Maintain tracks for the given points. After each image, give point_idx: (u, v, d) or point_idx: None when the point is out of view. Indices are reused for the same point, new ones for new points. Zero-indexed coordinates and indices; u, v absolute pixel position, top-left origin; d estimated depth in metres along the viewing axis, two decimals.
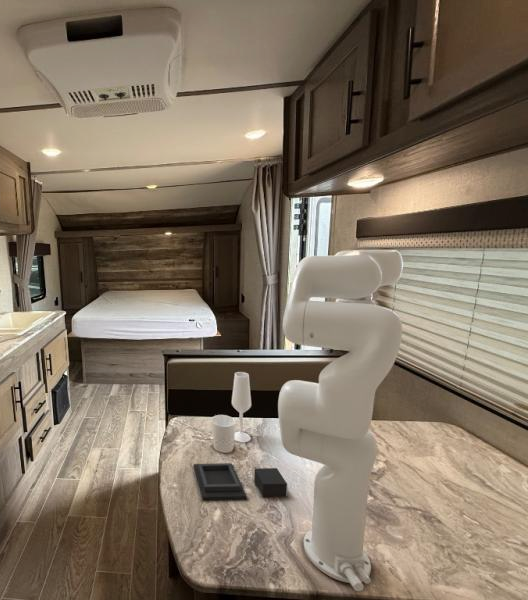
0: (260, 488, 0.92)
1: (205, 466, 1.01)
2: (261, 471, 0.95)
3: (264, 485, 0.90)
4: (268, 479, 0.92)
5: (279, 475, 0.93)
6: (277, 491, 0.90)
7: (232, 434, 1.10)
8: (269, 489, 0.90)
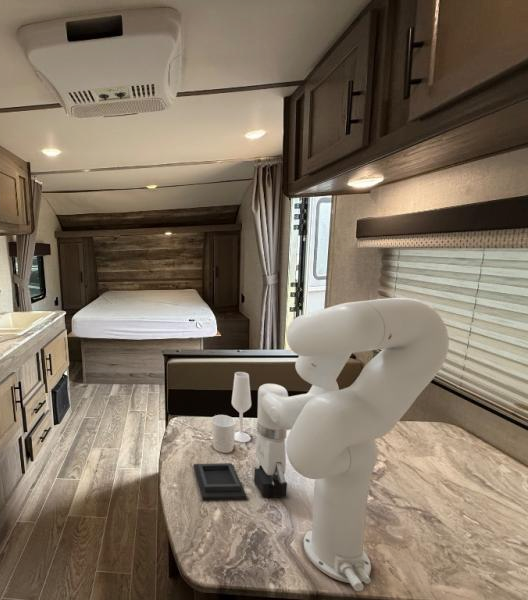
0: (260, 488, 0.92)
1: (205, 466, 1.01)
2: (261, 471, 0.95)
3: (264, 485, 0.90)
4: (268, 479, 0.92)
5: None
6: None
7: (232, 434, 1.10)
8: None
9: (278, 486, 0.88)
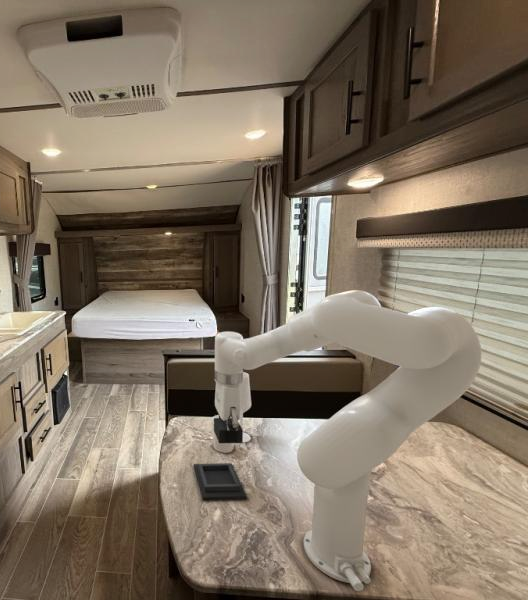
0: (217, 435, 0.93)
1: (205, 466, 1.01)
2: (219, 420, 0.95)
3: (220, 431, 0.91)
4: (224, 426, 0.92)
5: None
6: None
7: None
8: None
9: (233, 431, 0.89)
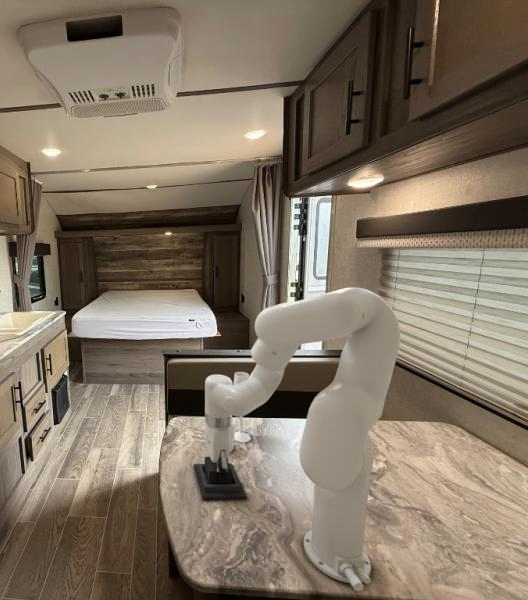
0: (207, 475, 0.95)
1: None
2: (210, 459, 0.98)
3: (210, 472, 0.93)
4: (215, 466, 0.95)
5: (227, 463, 0.96)
6: None
7: (232, 434, 1.10)
8: None
9: (223, 473, 0.92)
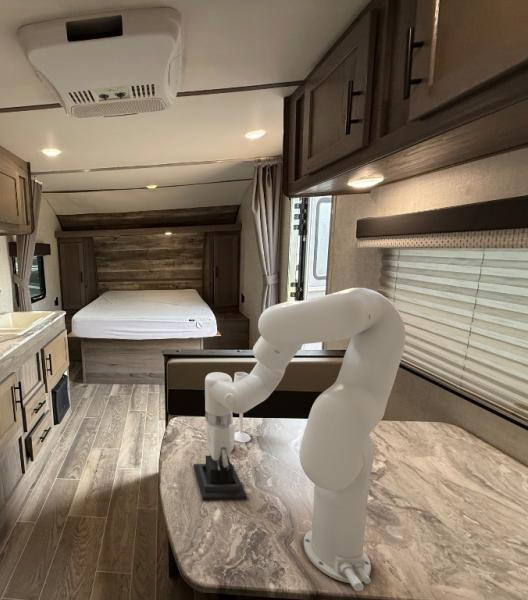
0: (209, 474, 0.95)
1: (205, 466, 1.01)
2: (210, 458, 0.98)
3: (211, 471, 0.93)
4: (216, 465, 0.94)
5: (228, 461, 0.96)
6: None
7: (232, 434, 1.10)
8: None
9: (224, 471, 0.91)
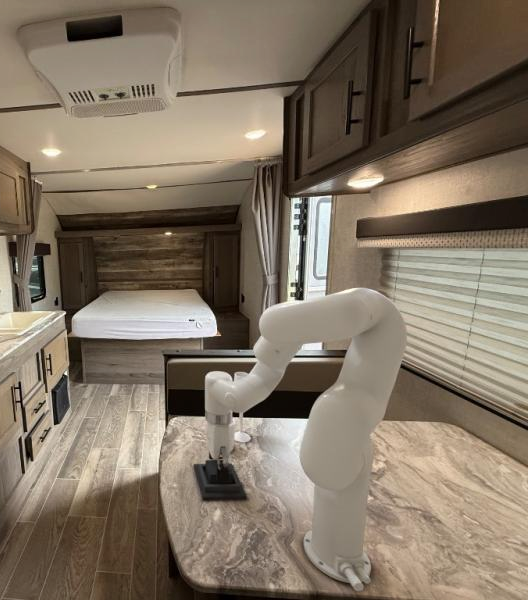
0: (208, 479, 0.95)
1: None
2: (210, 463, 0.98)
3: (211, 476, 0.93)
4: (215, 470, 0.95)
5: None
6: (224, 482, 0.93)
7: (232, 434, 1.10)
8: (216, 480, 0.93)
9: (224, 470, 0.90)
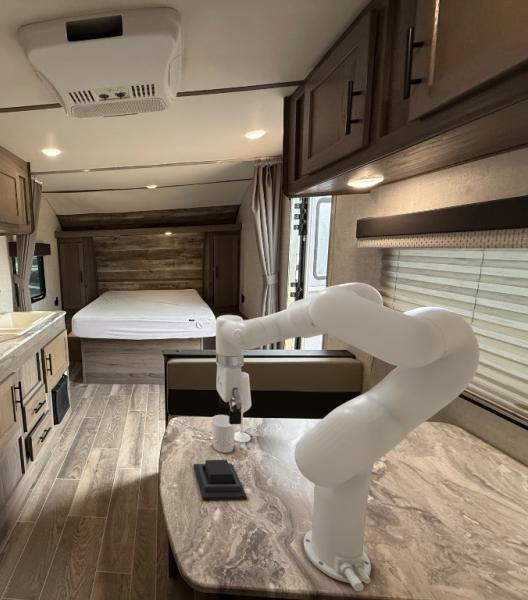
0: (208, 479, 0.95)
1: None
2: (210, 463, 0.98)
3: (211, 476, 0.93)
4: (215, 470, 0.95)
5: (227, 466, 0.96)
6: (224, 482, 0.93)
7: (232, 434, 1.10)
8: (216, 480, 0.93)
9: (237, 412, 0.89)
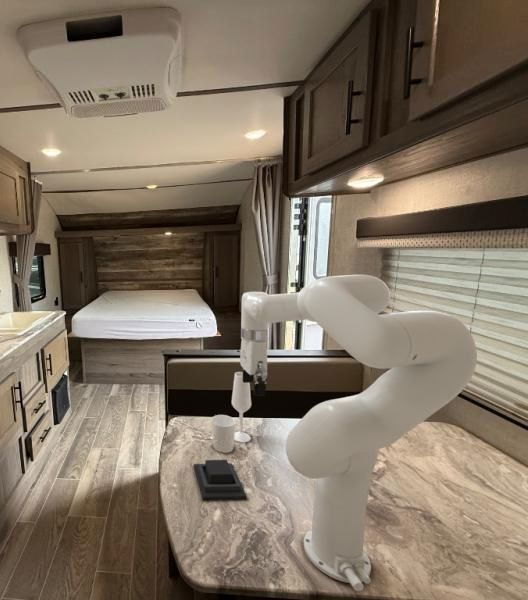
0: (208, 479, 0.95)
1: None
2: (210, 463, 0.98)
3: (211, 476, 0.93)
4: (215, 470, 0.95)
5: (227, 466, 0.96)
6: (224, 482, 0.93)
7: (232, 434, 1.10)
8: (216, 480, 0.93)
9: (262, 385, 0.92)
